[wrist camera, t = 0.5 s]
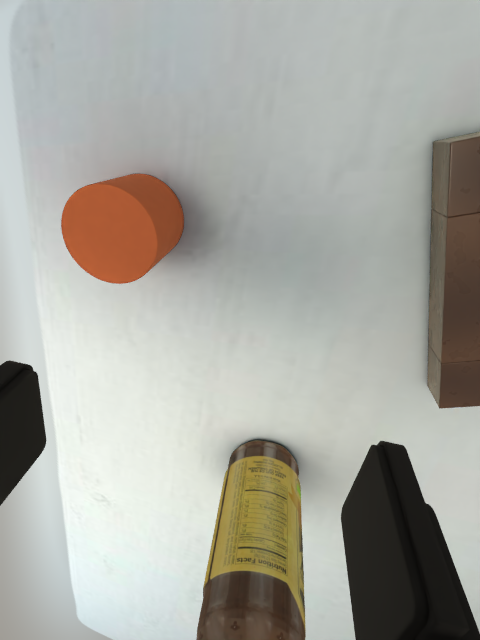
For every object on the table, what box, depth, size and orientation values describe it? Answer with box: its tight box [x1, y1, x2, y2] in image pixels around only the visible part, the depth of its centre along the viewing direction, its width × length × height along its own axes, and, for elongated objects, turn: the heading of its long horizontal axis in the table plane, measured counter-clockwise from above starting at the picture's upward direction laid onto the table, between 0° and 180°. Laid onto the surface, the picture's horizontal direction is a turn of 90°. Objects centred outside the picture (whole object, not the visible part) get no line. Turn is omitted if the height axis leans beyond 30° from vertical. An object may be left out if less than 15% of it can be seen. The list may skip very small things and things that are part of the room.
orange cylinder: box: [61, 174, 184, 284], centre depth 21 cm, size 5×5×5 cm
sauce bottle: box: [197, 440, 305, 640], centre depth 23 cm, size 6×6×20 cm
